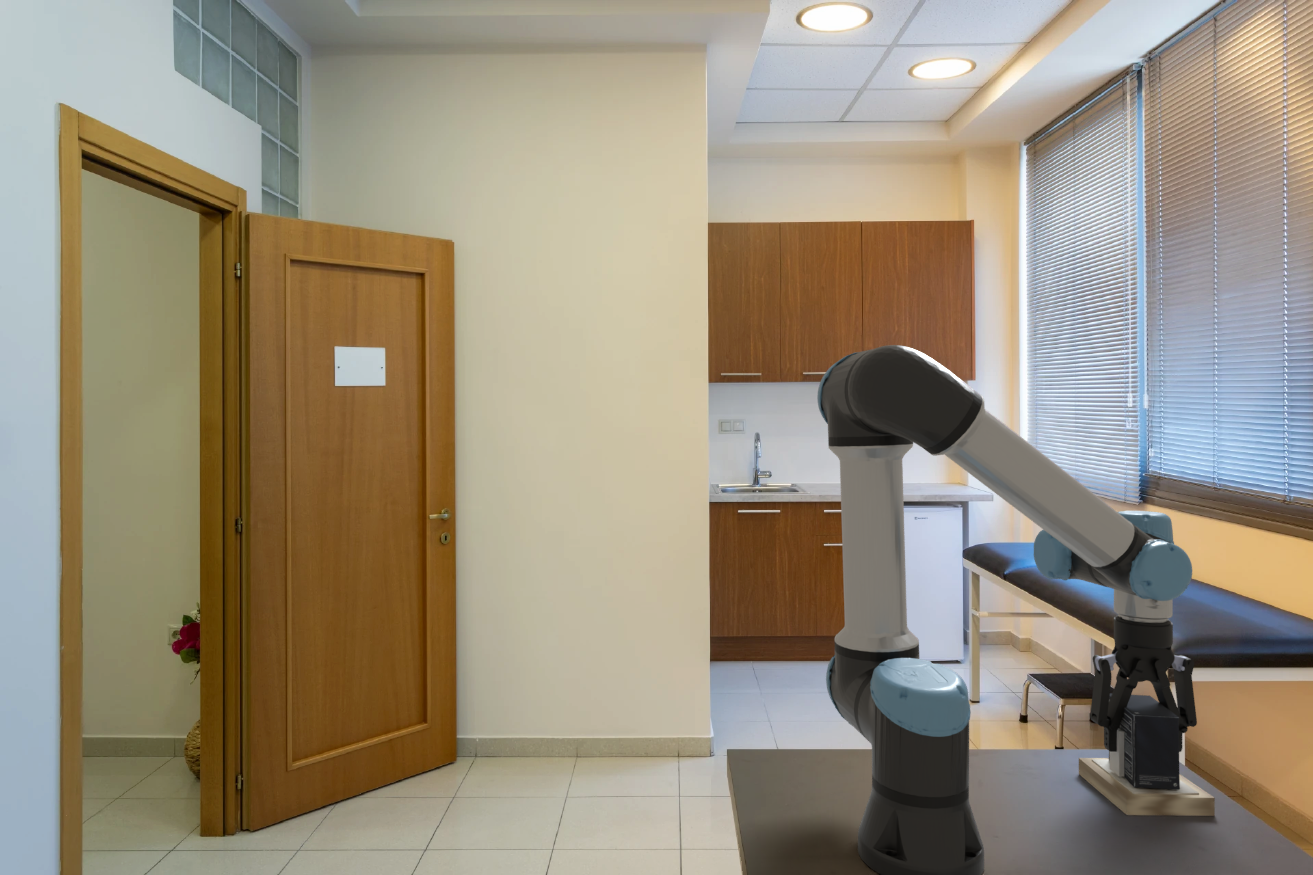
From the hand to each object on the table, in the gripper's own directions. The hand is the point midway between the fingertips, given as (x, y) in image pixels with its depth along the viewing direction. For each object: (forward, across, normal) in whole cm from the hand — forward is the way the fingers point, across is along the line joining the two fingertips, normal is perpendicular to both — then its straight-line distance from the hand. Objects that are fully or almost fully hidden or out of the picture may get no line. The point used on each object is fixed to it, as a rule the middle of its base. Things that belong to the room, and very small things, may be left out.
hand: (1142, 772), depth 123 cm
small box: (+1, 0, 0) cm, 1 cm away
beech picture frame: (+3, 0, 0) cm, 3 cm away
